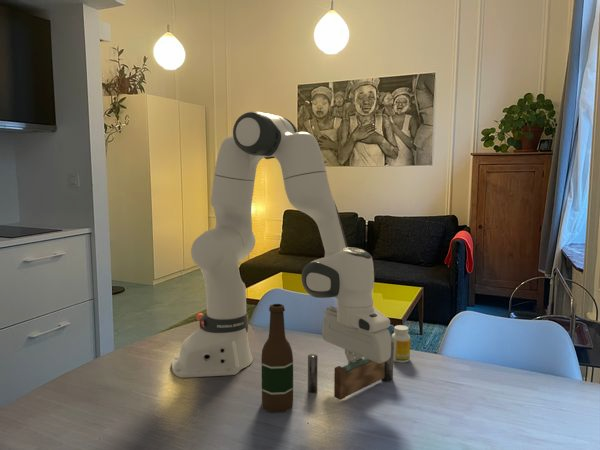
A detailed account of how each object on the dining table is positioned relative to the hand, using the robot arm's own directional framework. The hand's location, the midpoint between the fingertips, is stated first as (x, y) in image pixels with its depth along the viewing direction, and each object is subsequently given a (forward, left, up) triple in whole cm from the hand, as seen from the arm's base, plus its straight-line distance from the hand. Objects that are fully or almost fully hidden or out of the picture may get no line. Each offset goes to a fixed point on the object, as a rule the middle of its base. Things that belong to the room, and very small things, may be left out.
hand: (353, 367), depth 114 cm
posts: (+1, +3, -6) cm, 6 cm away
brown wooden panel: (+1, -2, -4) cm, 5 cm away
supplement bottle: (+21, +13, -6) cm, 25 cm away
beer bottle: (-20, -1, -6) cm, 21 cm away
